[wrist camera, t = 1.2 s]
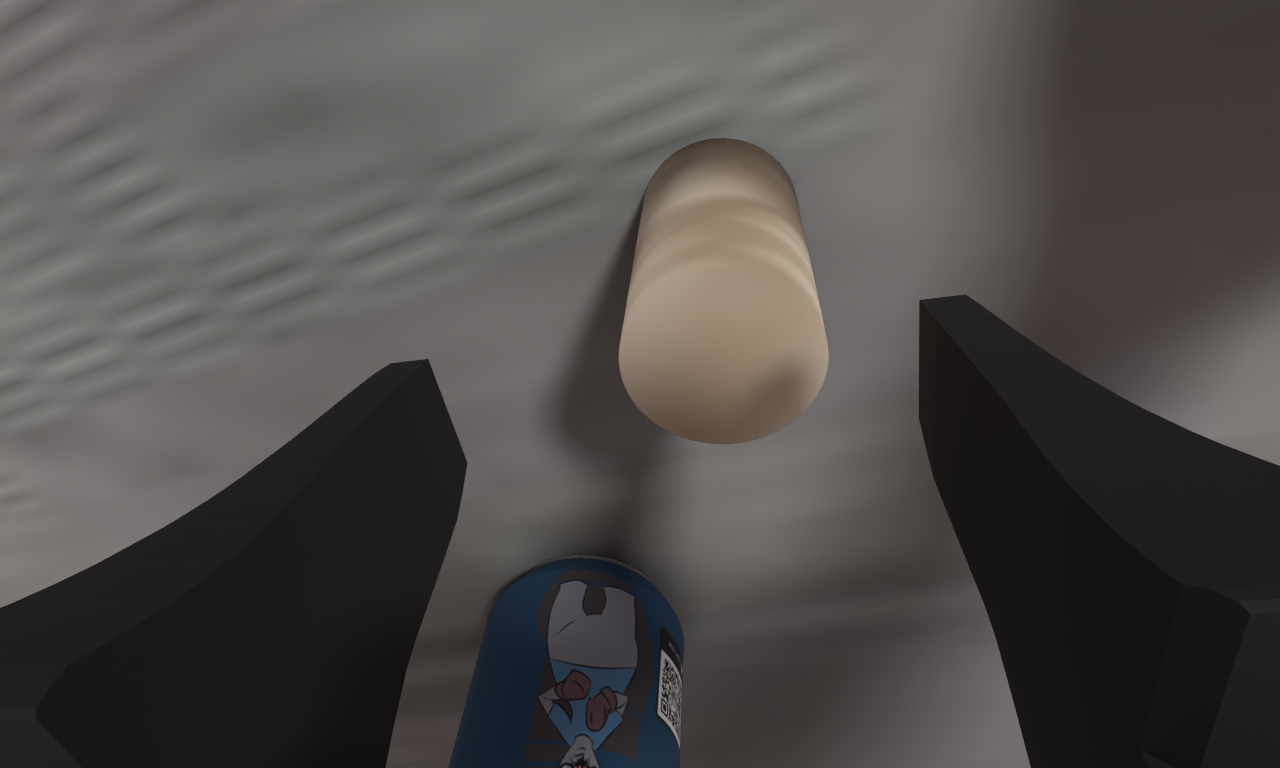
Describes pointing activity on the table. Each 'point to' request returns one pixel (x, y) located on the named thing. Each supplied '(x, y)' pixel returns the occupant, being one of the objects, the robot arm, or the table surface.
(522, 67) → the table surface
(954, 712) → the table surface
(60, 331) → the table surface
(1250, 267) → the table surface
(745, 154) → the beige cylinder
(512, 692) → the soda can
